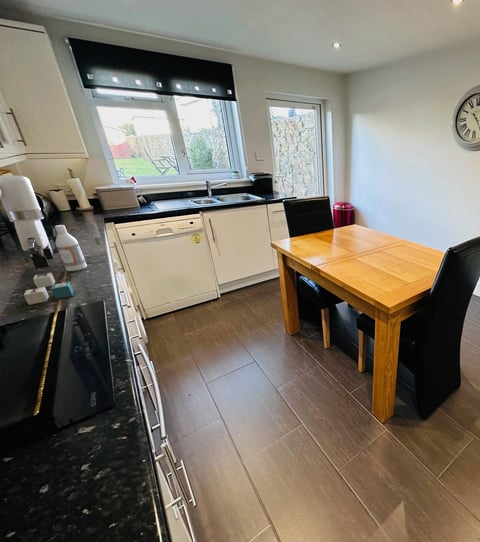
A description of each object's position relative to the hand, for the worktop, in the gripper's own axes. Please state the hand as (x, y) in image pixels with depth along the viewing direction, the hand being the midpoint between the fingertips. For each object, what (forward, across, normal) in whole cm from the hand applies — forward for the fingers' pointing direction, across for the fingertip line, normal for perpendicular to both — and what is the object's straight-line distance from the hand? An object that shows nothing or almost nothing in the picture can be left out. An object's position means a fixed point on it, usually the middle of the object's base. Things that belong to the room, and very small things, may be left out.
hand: (45, 263), depth 99 cm
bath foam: (+13, -32, +3) cm, 34 cm away
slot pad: (+13, 0, +1) cm, 13 cm away
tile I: (+13, 0, -5) cm, 14 cm away
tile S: (+13, 0, +2) cm, 13 cm away
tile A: (+13, -16, -5) cm, 22 cm away
